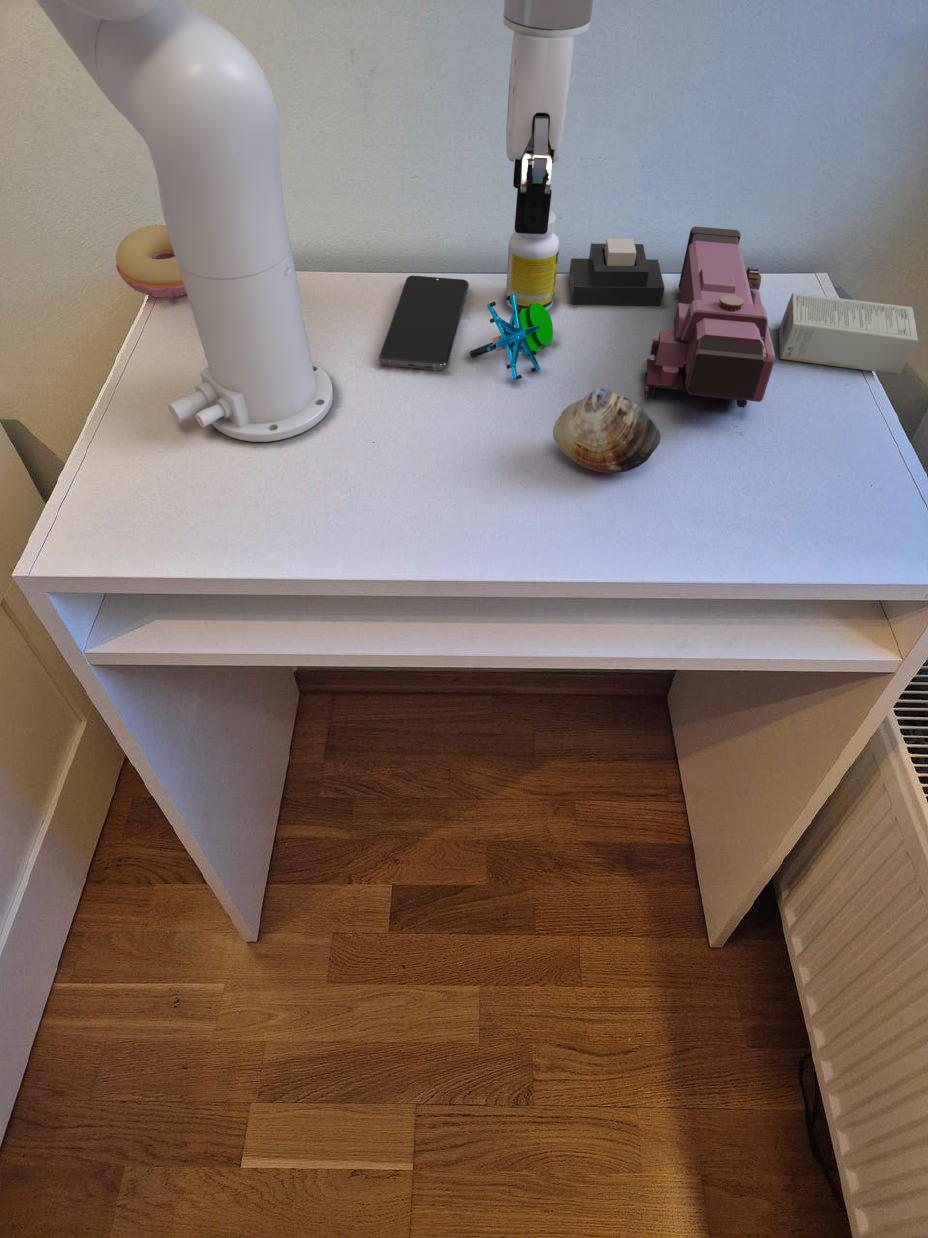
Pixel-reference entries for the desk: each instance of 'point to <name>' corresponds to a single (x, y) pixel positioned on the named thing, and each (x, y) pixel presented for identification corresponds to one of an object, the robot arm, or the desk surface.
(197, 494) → the desk surface
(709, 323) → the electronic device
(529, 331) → the stick construction toy
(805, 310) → the cosmetic box
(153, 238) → the doughnut
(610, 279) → the dark gray block frame
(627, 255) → the key back
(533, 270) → the supplement bottle
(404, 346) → the smartphone
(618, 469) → the seashell
